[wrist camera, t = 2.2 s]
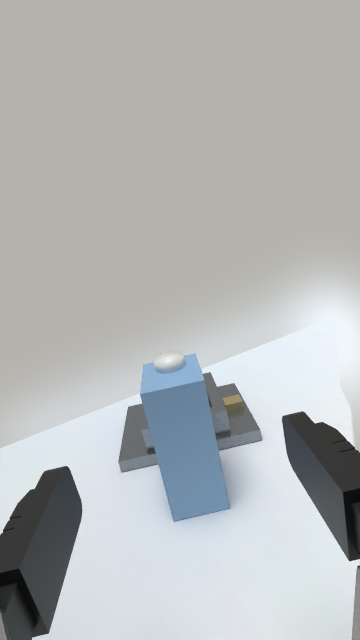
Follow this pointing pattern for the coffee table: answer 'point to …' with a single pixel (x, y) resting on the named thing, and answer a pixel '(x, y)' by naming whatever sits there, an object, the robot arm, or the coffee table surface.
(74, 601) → the coffee table surface
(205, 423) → the blue tall box
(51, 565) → the robot arm
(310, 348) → the coffee table surface
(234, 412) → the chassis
